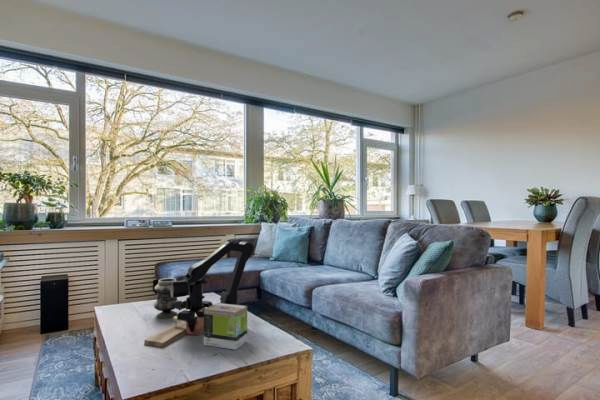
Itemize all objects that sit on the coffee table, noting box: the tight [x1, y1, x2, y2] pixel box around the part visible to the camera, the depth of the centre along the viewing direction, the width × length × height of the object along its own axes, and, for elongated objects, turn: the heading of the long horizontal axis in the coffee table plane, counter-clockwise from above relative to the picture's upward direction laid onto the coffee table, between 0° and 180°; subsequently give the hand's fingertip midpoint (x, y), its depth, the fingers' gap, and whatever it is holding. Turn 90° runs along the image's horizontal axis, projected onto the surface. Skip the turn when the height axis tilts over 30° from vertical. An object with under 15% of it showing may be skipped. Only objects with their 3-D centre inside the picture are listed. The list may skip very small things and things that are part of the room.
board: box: [143, 321, 186, 348], centre depth 144 cm, size 9×21×2 cm, turn 163°
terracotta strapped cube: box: [172, 315, 204, 336], centre depth 149 cm, size 14×5×6 cm, turn 74°
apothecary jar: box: [153, 277, 180, 319], centre depth 170 cm, size 12×12×18 cm
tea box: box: [203, 302, 248, 350], centre depth 137 cm, size 15×10×15 cm
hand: (195, 329), depth 148 cm, fingers closed on terracotta strapped cube, 5 cm apart
